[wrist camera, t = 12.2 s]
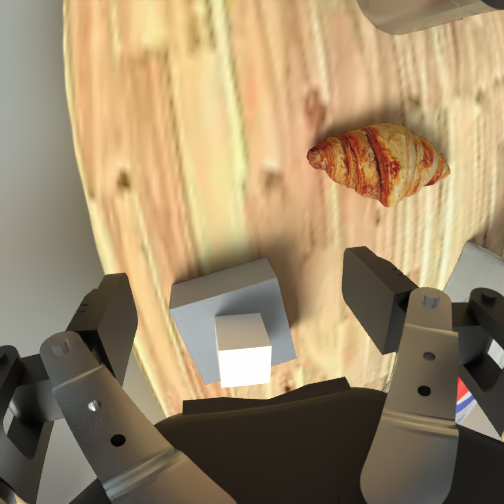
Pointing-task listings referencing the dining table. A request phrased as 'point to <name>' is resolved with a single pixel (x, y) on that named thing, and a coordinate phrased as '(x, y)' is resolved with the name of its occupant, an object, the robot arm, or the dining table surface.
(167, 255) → the dining table surface
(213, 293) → the grey box
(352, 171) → the croissant
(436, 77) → the dining table surface
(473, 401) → the soda pack
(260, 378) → the white block
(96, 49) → the dining table surface
